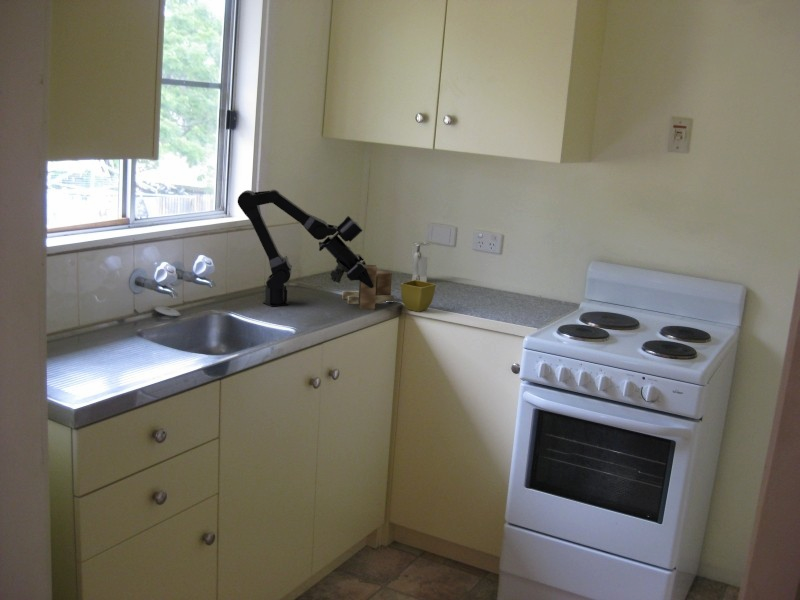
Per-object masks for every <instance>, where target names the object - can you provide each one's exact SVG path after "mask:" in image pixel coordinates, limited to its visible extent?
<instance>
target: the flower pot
mask: <svg viewBox="0 0 800 600" xmlns="http://www.w3.org/2000/svg"><path fill="white" fill-rule="evenodd" d="M411 280H412V279H411ZM411 280H409V281H405V282H402V283H400V293H401V301H402V303H403V305H404V307H405V309H406V310H408V311H413V312H418V313H419V312H422V311H423V312H424V311H426V310H427V309H428V308H430V305H431V303H432V302H433V299H434V295H435V291H436V285H437V284H436V283H431V282H428V281H427V282H423V281H418V280H412V281H411Z"/></svg>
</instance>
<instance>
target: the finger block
mask: <svg viewBox="0 0 800 600" xmlns="http://www.w3.org/2000/svg"><path fill="white" fill-rule="evenodd" d="M364 266H365V267H366V269H367V272H368V274H369V276H370V278H371V281H372V283H373V285H374V287H373V288H370V287H368V286H367V285H365V284H364V283H362V282H361V281H359V280H358V281H359V284H358V291H359V304H358V305H359V309H360V310H376V303H375V296H376V274H377V271H378V269H377V264H366V265H364Z"/></svg>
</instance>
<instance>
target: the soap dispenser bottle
mask: <svg viewBox="0 0 800 600" xmlns="http://www.w3.org/2000/svg"><path fill="white" fill-rule="evenodd" d="M411 248H412V249H411V265H412V277H411V280H410V281H412V280H418V281H423V282H428V279H427V271H428V267H429V263H430V258H431V257H430V255H431V244H430V243H428V242H426V241H425V242H422V241H416V242H413V243H412V247H411Z"/></svg>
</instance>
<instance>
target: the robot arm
mask: <svg viewBox="0 0 800 600" xmlns="http://www.w3.org/2000/svg"><path fill="white" fill-rule="evenodd" d="M268 204H273V205H275V207H277V208H279V209H280V210H281V211H283V212H285V213H286V214H287V215H289V216H290V217H291V218H293V220H295V221H297V222H298V223H300V225H302V226H303V228H304V229H305V230H306V231H307V232H308V233H309V234H310V235H311V237H313V238H314V239H315V240H323V241H319V242H318V246H319V248H318V251H320V252H321V251H322V250H324V249H325V250H326V251H327V252H328V253H329V254H330V255H331V256H332V257H333V258H334V259H335V263H337V264H336V266H335V268H334V269H332V270H331V272H330V273H329V275H330V280H331V281H333V283H334V282H336V283H338V284H340V283H341V281H342V277H343V275H344V274H345V273H346V278H347V279H349V281H353V282H354V281H361V282H362V283H364V284H365V285H367V286H368V287H370V288H373V287H374V285H373V283H372V281H371V278H370V276H369V274H368V272H367V269H366V267H365V266H364V265H367V263H366V261H365V260H364V257H363V256H362V255H361V254H358V253H357V254H355V252H353V250H352V248H351V247H350V246H348V245H347V244H346V242H350V243H351V242H353V240H354V239H356V237H358V236H359V235H360V234H362V232H363V231H364V229H363V228H362V227H361V225H359V224H358V222H357V221H355V220H354V219H353V218H352V217H350V216H349V215H348V216H345V218H344V220H342V221H341V222H340V224H338V225H335V224H329V223H328V222H327V221H325V220H323V219H321V218H319V217H317V216H315V215H312V214H310V213H308V212H306V211H305V210H303V208H301V207H300V206H298V205H297V204H295V203H294V202H293V201H291V200H290V199H289V198H287V197H286V196H284V195H283V194H282V193H281V192H280V191H279V190H277V189H271V190H262V191H256V192H255V191H252V190H250V189H249V190H248V189H247V190H244V191H243V192H242V193H241V194H239V195H238V198H237V205H238V207H239V208H240V210H241V211H242V213H243V214H244V215H245V216H246V217H247V218H248V219H249V221H250V222H251V226H253V229H254V231H255V234H256V236H257V237H258V239H259V242H260V244H261V246H262V247H263V250H264V252H265V254H266V256H267V258H268V261H269V263H268V264H269V267H270V271H271V274H270V275H269V276H268V278H267V280H266V282H265V284H266V285H265V286H264V287H265V288H264V289H265V290H264V291H265V293H264V296H265V298H264V300H263V301H262V304H264V303H265V305H268V306H269V305H270V307H278V306H288V305H289V302H288V289H287V285H285V284H286V283H288V282H289V280H290V278H291V275H292V268H293V265H291V262H289V257H288V255H286V256H282V255H281V253H280V251H279V250H278V247H277V245H276V243H275V241H274V239H273V237H272V234H271V233H270V230H269V228H268V226H267V224H266V221H265V220H264V217H263V216H262V210H261V206H263V205H268ZM331 236H332V237H331Z"/></svg>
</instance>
